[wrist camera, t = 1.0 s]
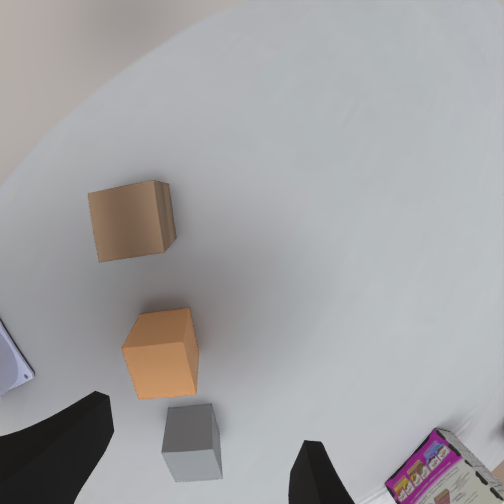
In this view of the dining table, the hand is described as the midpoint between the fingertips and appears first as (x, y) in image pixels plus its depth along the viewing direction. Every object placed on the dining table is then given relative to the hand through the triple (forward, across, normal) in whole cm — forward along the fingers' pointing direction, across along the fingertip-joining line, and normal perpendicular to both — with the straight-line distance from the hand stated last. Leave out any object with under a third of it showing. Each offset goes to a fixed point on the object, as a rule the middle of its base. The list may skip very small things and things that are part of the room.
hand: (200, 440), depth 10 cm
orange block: (+14, +5, +4) cm, 15 cm away
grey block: (+13, +3, +13) cm, 19 cm away
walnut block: (+14, +8, -5) cm, 17 cm away
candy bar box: (+19, -27, +22) cm, 40 cm away
